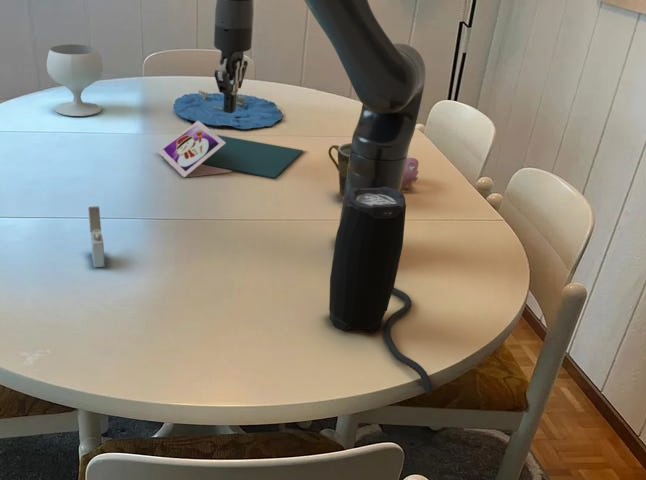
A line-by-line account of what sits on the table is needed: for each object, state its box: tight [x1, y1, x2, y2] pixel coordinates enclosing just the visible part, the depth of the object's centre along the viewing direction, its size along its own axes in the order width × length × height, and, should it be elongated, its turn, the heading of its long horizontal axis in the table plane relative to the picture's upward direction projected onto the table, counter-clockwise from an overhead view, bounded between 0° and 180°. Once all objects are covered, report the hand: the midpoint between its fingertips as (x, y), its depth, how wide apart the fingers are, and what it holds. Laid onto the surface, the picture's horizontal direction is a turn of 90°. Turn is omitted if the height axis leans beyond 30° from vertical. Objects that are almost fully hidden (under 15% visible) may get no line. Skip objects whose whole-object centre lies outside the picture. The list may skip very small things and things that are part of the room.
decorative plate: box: [173, 90, 283, 130], centre depth 190 cm, size 30×30×5 cm
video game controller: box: [401, 155, 419, 190], centre depth 151 cm, size 10×5×7 cm, turn 168°
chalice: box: [46, 44, 104, 117], centre depth 182 cm, size 14×14×15 cm
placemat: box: [201, 134, 304, 180], centre depth 163 cm, size 20×24×1 cm
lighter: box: [87, 206, 106, 268], centre depth 116 cm, size 7×2×8 cm, turn 13°
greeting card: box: [158, 121, 234, 178], centre depth 158 cm, size 11×7×15 cm
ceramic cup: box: [328, 142, 352, 202], centre depth 143 cm, size 13×10×10 cm
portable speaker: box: [328, 187, 407, 333], centre depth 100 cm, size 9×9×20 cm
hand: (229, 112), depth 151 cm, fingers closed
